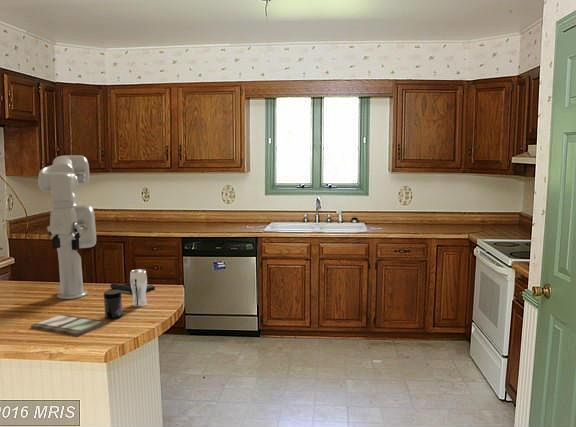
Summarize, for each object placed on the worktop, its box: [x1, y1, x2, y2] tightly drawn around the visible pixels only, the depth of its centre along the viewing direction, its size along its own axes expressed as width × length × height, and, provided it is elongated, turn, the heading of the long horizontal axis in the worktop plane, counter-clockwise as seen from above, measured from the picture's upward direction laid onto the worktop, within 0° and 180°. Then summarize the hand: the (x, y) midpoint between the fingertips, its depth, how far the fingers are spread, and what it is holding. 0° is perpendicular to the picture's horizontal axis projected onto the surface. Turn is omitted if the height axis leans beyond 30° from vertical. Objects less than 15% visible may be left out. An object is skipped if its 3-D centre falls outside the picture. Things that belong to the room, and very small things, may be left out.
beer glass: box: [129, 268, 148, 308], centre depth 211 cm, size 7×7×15 cm
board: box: [30, 313, 108, 337], centre depth 186 cm, size 24×14×1 cm, turn 67°
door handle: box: [110, 282, 156, 294], centre depth 237 cm, size 3×20×16 cm
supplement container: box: [103, 289, 123, 320], centre depth 195 cm, size 7×7×10 cm
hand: (66, 248), depth 190 cm, fingers open, 9 cm apart
